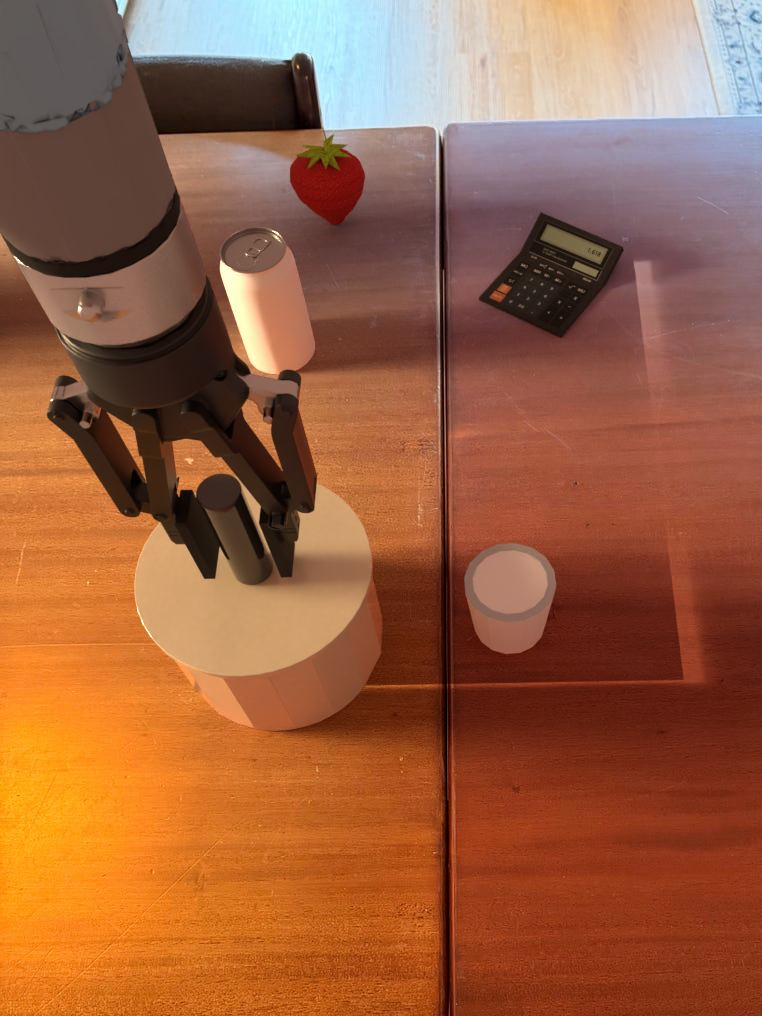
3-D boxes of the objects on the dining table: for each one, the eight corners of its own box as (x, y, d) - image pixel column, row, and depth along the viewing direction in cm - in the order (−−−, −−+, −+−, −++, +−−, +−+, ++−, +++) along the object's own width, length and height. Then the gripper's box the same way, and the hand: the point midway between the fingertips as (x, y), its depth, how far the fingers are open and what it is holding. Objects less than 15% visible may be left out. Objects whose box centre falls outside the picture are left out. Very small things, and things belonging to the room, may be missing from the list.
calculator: (479, 304, 92) (478, 279, 89) (541, 234, 96) (542, 209, 93) (560, 342, 89) (562, 318, 86) (621, 269, 93) (624, 243, 91)
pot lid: (121, 685, 63) (57, 612, 54) (158, 484, 70) (107, 390, 61) (368, 681, 62) (345, 607, 53) (378, 480, 70) (360, 384, 61)
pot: (176, 732, 72) (127, 674, 62) (201, 559, 79) (161, 484, 69) (378, 729, 71) (360, 670, 62) (386, 556, 79) (370, 480, 69)
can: (236, 365, 89) (199, 262, 78) (271, 320, 91) (240, 214, 81) (294, 387, 87) (265, 285, 77) (328, 340, 90) (305, 235, 79)
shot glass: (527, 677, 73) (529, 636, 67) (451, 640, 75) (446, 596, 69) (566, 610, 76) (572, 564, 70) (492, 575, 77) (491, 528, 71)
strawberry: (303, 204, 99) (283, 113, 90) (373, 203, 99) (361, 112, 90) (297, 242, 96) (276, 153, 87) (370, 242, 96) (356, 152, 87)
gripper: (-78, 360, 42) (114, 611, 63) (311, 351, 42) (375, 606, 63) (-38, 245, 46) (132, 518, 66) (322, 236, 45) (379, 513, 66)
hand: (249, 560), depth 64 cm, fingers open, 5 cm apart
